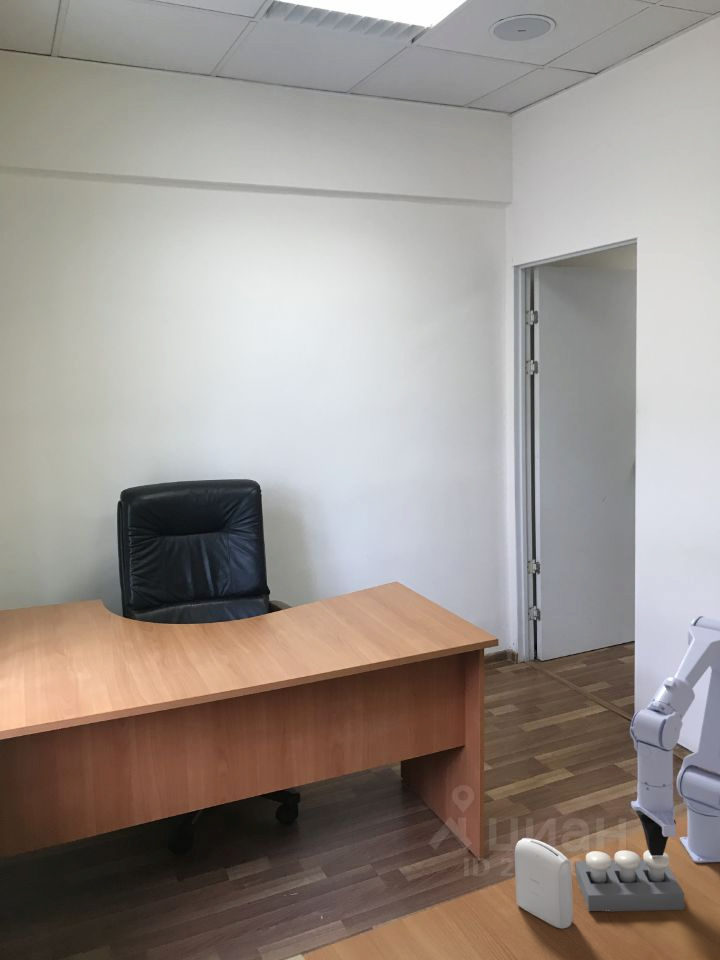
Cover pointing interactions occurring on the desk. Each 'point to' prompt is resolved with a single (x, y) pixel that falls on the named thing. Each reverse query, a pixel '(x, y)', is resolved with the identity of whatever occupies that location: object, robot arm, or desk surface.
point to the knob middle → (627, 864)
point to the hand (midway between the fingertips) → (656, 853)
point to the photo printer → (544, 882)
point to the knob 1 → (598, 865)
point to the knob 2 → (656, 865)
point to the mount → (629, 890)
